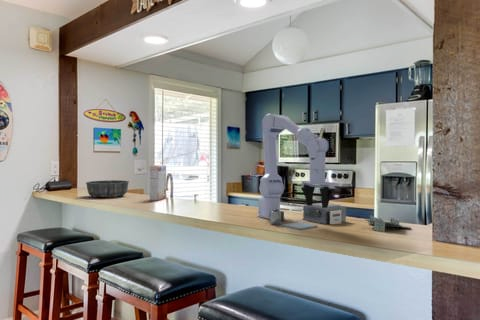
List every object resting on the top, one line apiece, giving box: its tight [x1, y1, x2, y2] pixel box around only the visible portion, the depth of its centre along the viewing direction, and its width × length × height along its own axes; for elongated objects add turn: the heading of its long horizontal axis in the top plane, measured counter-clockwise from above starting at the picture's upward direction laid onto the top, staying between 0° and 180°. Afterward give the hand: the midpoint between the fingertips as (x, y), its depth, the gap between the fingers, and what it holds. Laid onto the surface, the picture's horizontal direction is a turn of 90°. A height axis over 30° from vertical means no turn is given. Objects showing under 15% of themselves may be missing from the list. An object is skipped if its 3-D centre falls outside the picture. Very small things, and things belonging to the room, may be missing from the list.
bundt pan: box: [85, 179, 130, 198], centre depth 234 cm, size 26×26×10 cm
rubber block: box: [270, 210, 285, 223], centre depth 146 cm, size 4×4×4 cm
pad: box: [282, 221, 318, 231], centre depth 134 cm, size 9×9×1 cm
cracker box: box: [149, 164, 167, 202], centre depth 220 cm, size 14×6×21 cm, turn 172°
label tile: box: [329, 210, 342, 225], centre depth 141 cm, size 1×6×5 cm, turn 126°
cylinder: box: [269, 209, 282, 226], centre depth 139 cm, size 4×4×6 cm
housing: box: [302, 202, 347, 225], centre depth 148 cm, size 12×13×7 cm
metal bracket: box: [364, 215, 412, 233], centre depth 132 cm, size 14×6×15 cm
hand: (317, 206), depth 135 cm, fingers open, 7 cm apart
